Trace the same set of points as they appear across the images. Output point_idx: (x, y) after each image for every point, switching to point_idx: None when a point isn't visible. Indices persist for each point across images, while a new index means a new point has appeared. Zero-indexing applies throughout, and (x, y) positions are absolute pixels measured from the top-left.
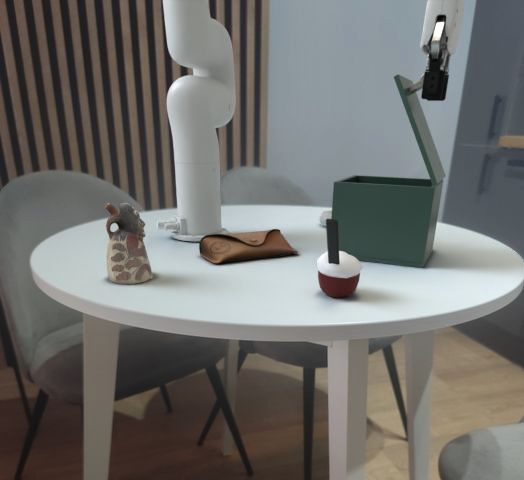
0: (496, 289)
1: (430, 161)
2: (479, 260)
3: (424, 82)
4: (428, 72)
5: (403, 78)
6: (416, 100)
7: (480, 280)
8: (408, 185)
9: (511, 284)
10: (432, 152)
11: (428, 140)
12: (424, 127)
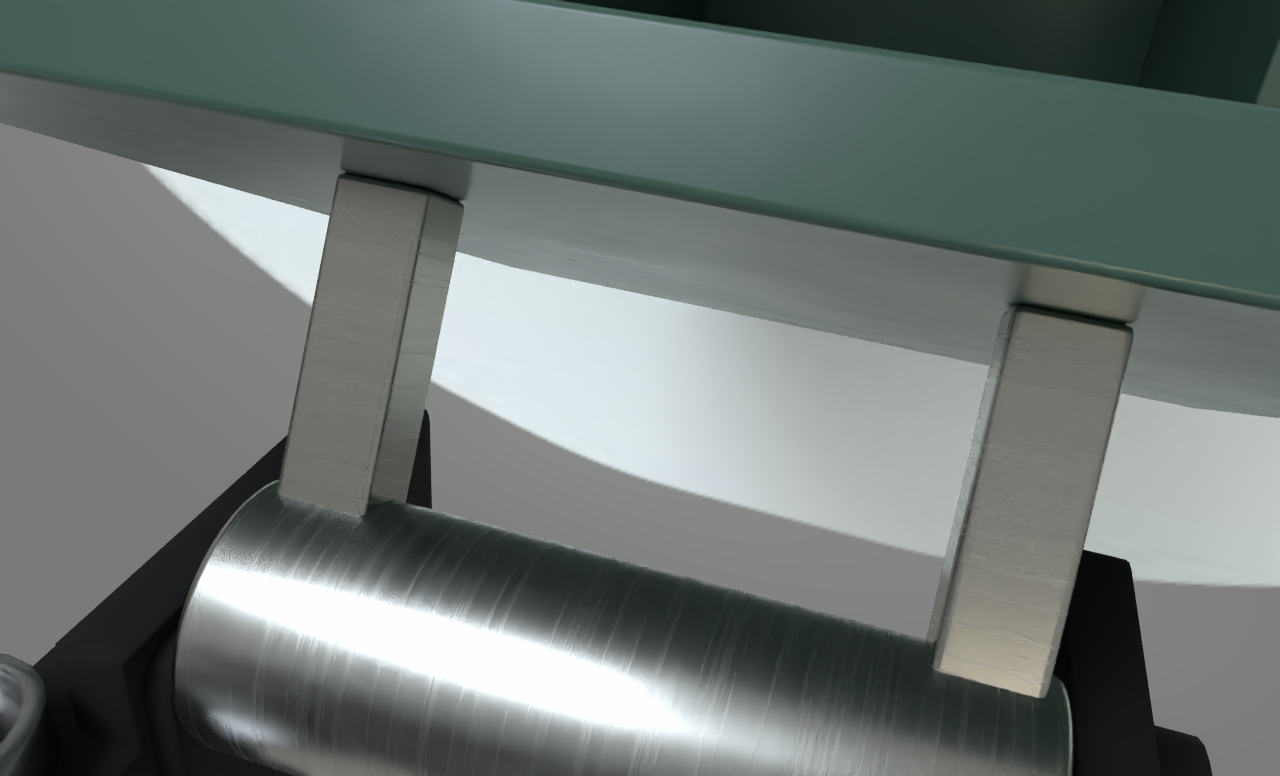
0: (465, 364)
1: (494, 258)
2: (936, 396)
3: (208, 527)
4: (91, 699)
5: (125, 102)
6: (1206, 361)
7: (563, 332)
8: (1257, 38)
9: (554, 431)
10: (827, 324)
11: (840, 322)
12: (908, 328)
